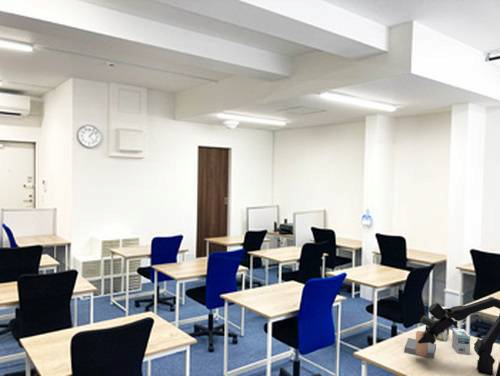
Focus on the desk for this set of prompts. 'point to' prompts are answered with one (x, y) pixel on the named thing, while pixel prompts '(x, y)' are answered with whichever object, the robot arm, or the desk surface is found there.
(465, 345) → the light bulb box
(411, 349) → the base block
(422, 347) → the terracotta cylinder
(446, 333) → the juice carton
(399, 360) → the desk surface
